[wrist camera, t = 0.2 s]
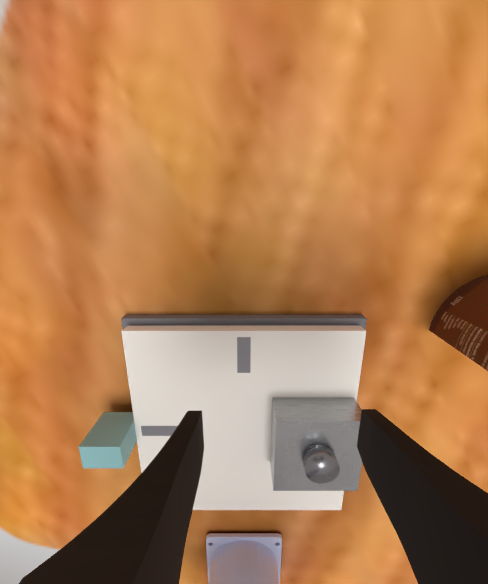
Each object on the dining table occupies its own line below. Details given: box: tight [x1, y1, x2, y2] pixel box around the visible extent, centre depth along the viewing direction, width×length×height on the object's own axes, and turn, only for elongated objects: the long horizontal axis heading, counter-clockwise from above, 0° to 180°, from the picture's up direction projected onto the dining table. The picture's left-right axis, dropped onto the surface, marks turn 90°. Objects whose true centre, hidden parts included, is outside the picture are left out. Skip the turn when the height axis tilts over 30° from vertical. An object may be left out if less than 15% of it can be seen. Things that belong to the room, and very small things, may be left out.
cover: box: [270, 397, 362, 491], centre depth 20 cm, size 6×6×4 cm
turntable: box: [79, 325, 366, 510], centre depth 21 cm, size 18×21×4 cm
